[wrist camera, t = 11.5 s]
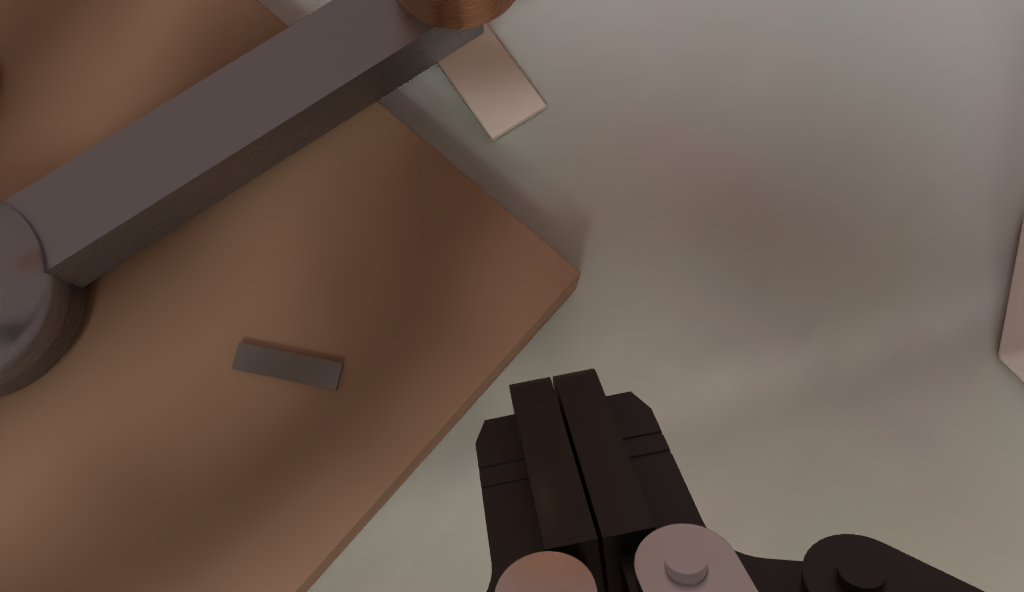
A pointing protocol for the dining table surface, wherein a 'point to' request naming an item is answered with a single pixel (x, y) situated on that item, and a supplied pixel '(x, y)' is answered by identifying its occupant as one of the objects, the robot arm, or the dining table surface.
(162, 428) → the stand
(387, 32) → the lever
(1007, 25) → the dining table surface
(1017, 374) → the jar
